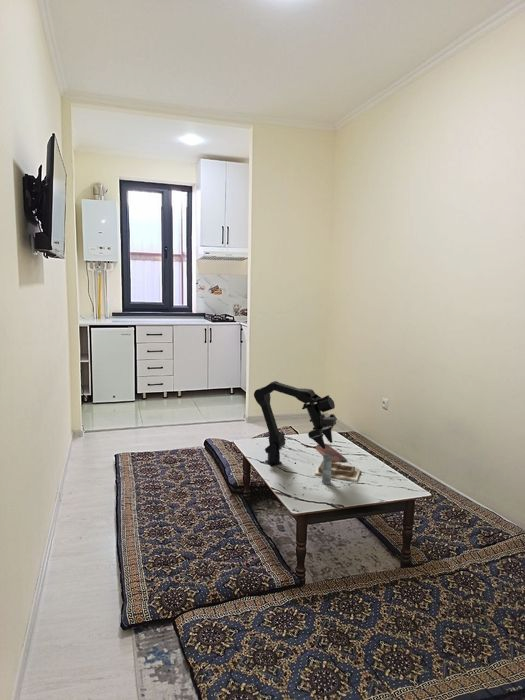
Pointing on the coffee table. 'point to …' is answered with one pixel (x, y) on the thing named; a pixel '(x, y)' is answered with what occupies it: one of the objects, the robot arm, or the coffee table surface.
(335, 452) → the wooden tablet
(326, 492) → the coffee table surface
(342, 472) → the keyhole board
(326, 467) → the slate peg
